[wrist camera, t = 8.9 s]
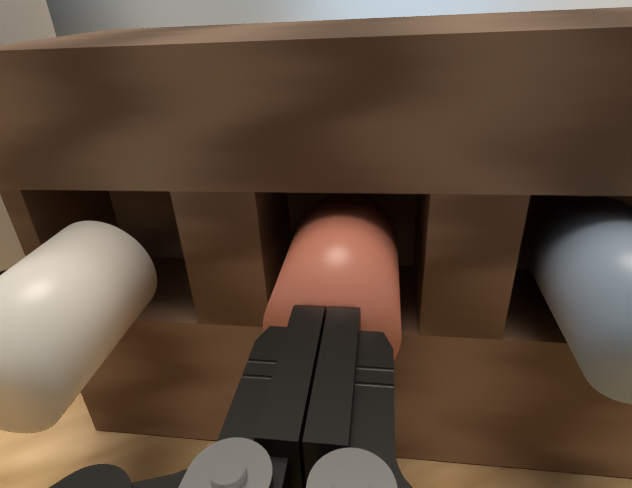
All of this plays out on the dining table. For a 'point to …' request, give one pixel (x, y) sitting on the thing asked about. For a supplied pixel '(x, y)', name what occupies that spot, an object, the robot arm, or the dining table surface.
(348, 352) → the robot arm
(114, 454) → the dining table surface
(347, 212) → the red key
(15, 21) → the travel mug
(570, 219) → the blue key
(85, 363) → the white key
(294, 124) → the box
